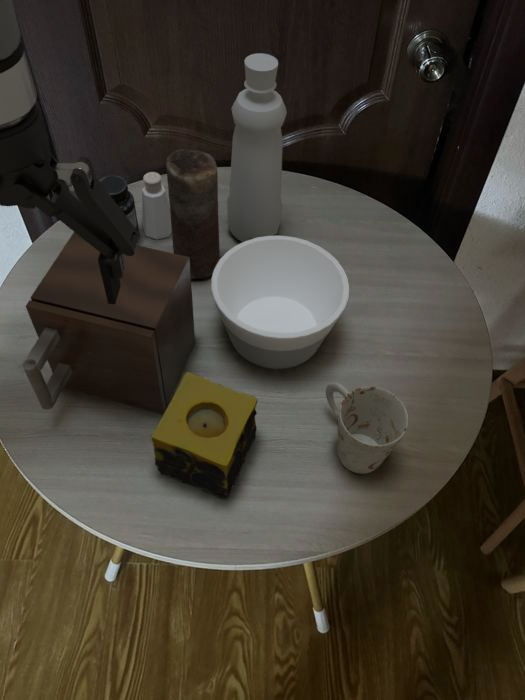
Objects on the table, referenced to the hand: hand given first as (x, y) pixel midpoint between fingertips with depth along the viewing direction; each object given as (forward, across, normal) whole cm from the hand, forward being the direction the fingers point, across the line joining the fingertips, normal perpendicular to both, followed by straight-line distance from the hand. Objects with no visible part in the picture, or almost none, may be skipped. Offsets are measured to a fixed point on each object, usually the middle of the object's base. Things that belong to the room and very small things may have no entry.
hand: (51, 288), depth 66 cm
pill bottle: (+24, -3, +33) cm, 41 cm away
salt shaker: (+24, +3, +36) cm, 43 cm away
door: (+24, +2, -2) cm, 24 cm away
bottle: (+24, +19, +38) cm, 48 cm away
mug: (+24, +36, -2) cm, 43 cm away
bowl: (+24, +24, +16) cm, 38 cm away
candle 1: (+24, +11, +28) cm, 38 cm away
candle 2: (+24, +17, -6) cm, 30 cm away
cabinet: (+24, +4, +8) cm, 25 cm away
